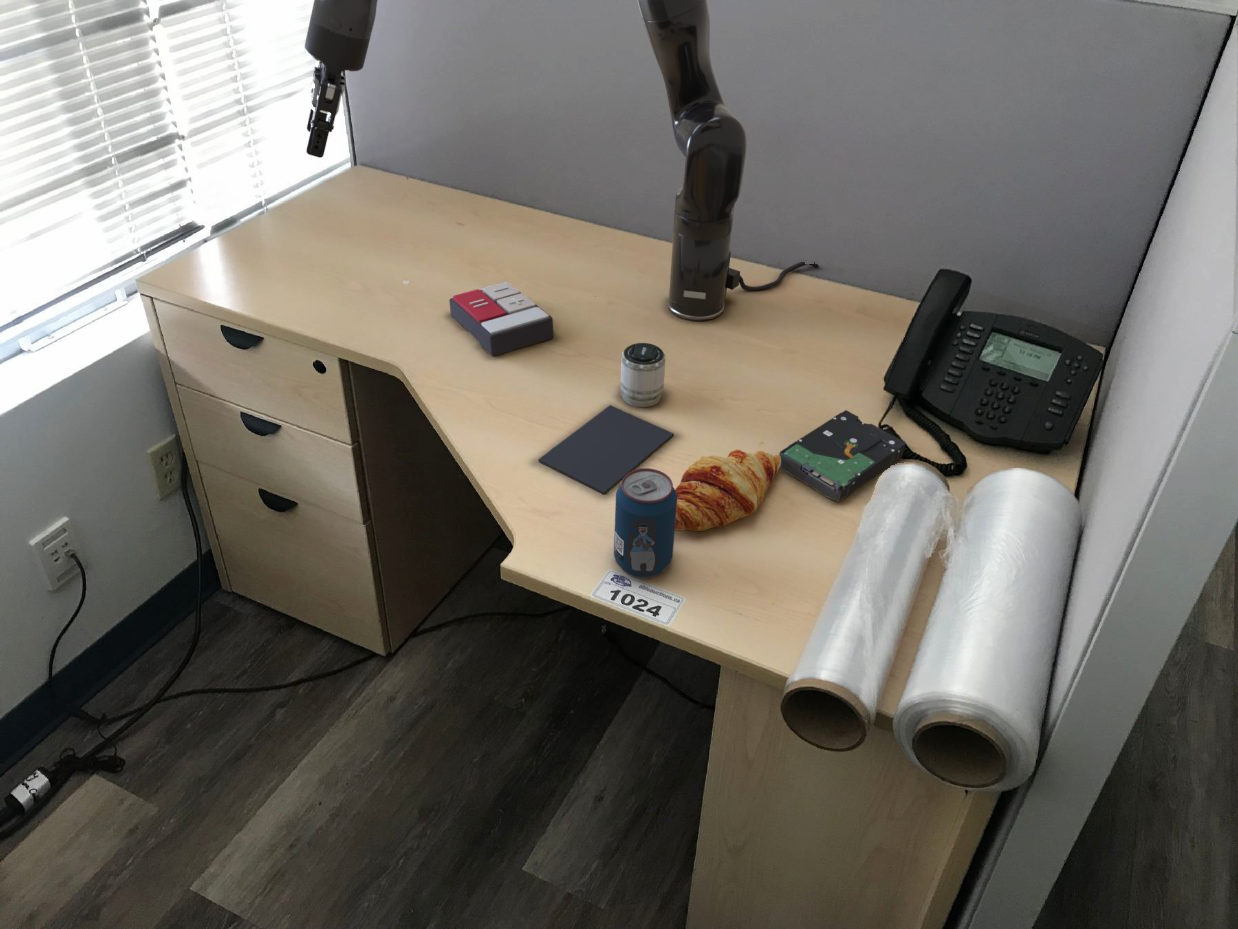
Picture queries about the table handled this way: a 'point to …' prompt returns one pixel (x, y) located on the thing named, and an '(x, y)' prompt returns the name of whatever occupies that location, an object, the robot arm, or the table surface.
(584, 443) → the felt mat
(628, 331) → the table surface
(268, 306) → the table surface
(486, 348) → the calculator
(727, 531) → the table surface
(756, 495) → the croissant
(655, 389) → the camera lens
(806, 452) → the disk drive
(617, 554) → the soda can
